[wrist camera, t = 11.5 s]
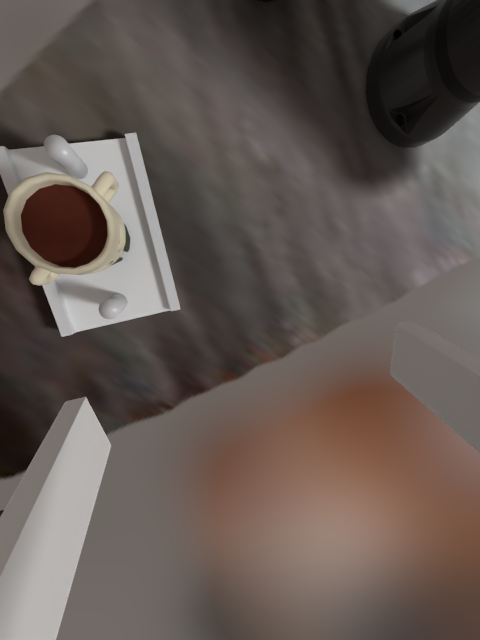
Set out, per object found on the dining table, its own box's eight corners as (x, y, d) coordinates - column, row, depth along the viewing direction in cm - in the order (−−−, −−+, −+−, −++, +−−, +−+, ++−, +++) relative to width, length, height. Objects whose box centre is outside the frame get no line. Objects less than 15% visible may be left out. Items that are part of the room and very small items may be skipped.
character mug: (104, 294, 33) (66, 314, 21) (45, 257, 31) (-37, 256, 18) (155, 220, 33) (149, 197, 21) (100, 178, 31) (55, 123, 18)
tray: (138, 142, 32) (130, 108, 25) (179, 306, 37) (182, 316, 30) (4, 156, 29) (-48, 123, 22) (69, 331, 34) (43, 350, 27)
